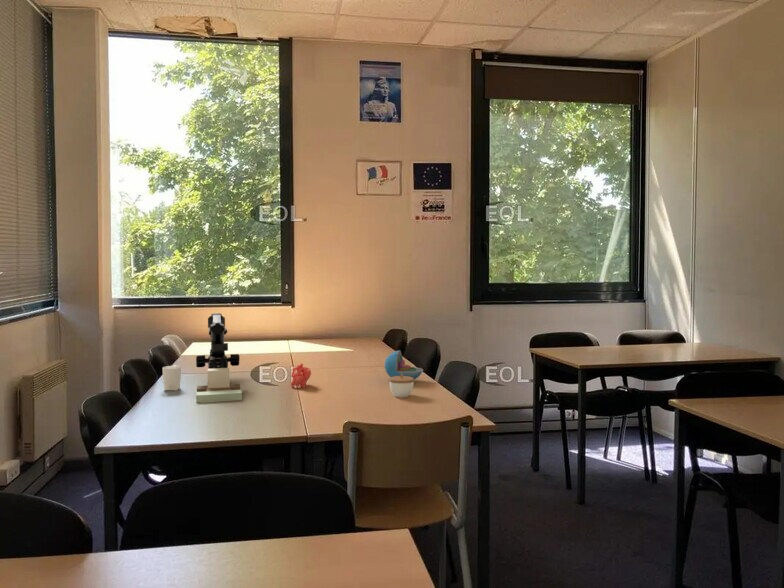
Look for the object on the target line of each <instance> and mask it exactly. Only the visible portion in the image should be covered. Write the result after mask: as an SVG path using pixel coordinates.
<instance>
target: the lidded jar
mask: <svg viewBox="0 0 784 588" xmlns="http://www.w3.org/2000/svg"><path fill="white" fill-rule="evenodd" d="M388 381H389V390H390V392H391V394H393V396H394V397H395V398H402V399H403V398H408V397H409V395H410V394H412V392H413V389H414V386H415V384H414V381H415V380H414V378H412V377H409V376H403V374H401V375H400V376H394V377H390V376H389V379H388Z"/></svg>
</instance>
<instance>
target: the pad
mask: <svg viewBox="0 0 784 588" xmlns="http://www.w3.org/2000/svg"><path fill="white" fill-rule="evenodd" d="M195 396H196V398H195V399H196V400H195V401H196V403H197V402H200V403H212V402H215V403H216V402H230V401H242V400H243V392H242V389H240V390H225V391H206V392H197V391H196V395H195Z"/></svg>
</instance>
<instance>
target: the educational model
mask: <svg viewBox="0 0 784 588" xmlns="http://www.w3.org/2000/svg"><path fill="white" fill-rule="evenodd" d="M401 351H402V350H395V351H393V352H392V353H390V354H389V355H388V356H387V357H386V358H385V361H384V369H385V372H386V374H387V375H388V377H389V378H390V377H394V376H400V375H401V374H403V376H409V377H412V378H414V381H415V380H416V379H417V378H419V377H420V376H421V375H422V374H423V371H424V369H423V368H421V367H415V366H411V365H409V364H406V363H405V360H404V359H403V354H402V352H401Z"/></svg>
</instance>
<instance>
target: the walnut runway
mask: <svg viewBox="0 0 784 588" xmlns="http://www.w3.org/2000/svg"><path fill="white" fill-rule="evenodd" d="M225 390H241V385H240V383H231V384H230V383H229V387H223V388H208V384H207V385H196V393H197V392H206V391H225Z"/></svg>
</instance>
